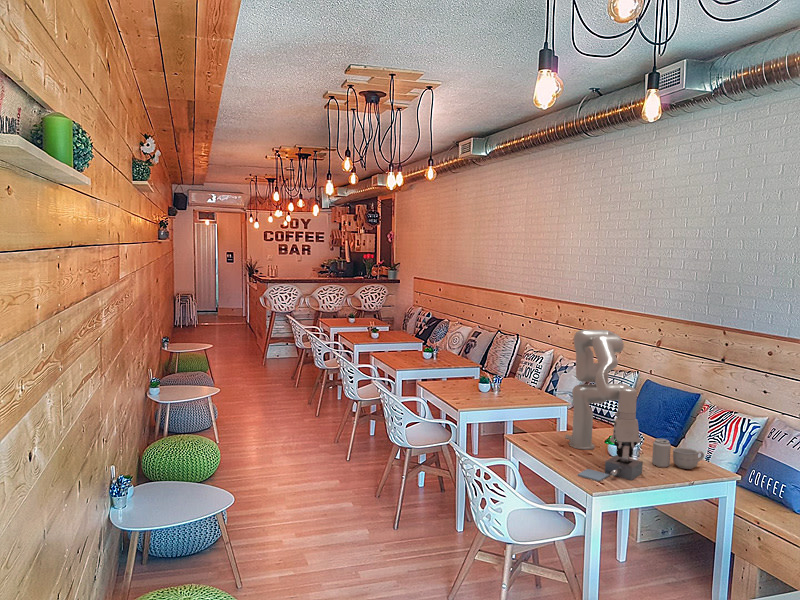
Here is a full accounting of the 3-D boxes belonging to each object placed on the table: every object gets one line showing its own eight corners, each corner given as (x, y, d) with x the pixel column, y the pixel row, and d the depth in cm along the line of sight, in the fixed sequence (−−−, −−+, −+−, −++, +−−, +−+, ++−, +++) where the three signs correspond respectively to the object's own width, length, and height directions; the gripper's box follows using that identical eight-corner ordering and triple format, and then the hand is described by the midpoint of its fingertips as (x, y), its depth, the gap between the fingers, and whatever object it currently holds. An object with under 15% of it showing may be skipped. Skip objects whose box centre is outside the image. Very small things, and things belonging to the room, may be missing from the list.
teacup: (676, 470, 275) (677, 452, 275) (668, 462, 286) (669, 445, 286) (708, 472, 274) (709, 455, 273) (699, 464, 284) (701, 447, 284)
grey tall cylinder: (621, 470, 266) (622, 439, 265) (617, 467, 270) (619, 436, 269) (630, 470, 267) (631, 439, 266) (626, 467, 271) (627, 436, 270)
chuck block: (598, 476, 264) (599, 464, 263) (615, 466, 277) (616, 455, 277) (626, 484, 256) (626, 471, 255) (641, 473, 269) (642, 461, 269)
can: (671, 468, 277) (672, 443, 276) (653, 467, 278) (655, 441, 278) (667, 463, 284) (668, 438, 283) (650, 462, 286) (651, 437, 285)
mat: (577, 475, 264) (577, 474, 264) (587, 470, 271) (587, 468, 271) (599, 482, 257) (599, 480, 257) (609, 476, 265) (609, 474, 265)
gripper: (611, 417, 263) (609, 459, 264) (648, 418, 264) (646, 459, 265) (604, 413, 270) (602, 453, 271) (641, 413, 271) (638, 453, 272)
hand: (624, 455), depth 268 cm, fingers closed on grey tall cylinder, 4 cm apart
